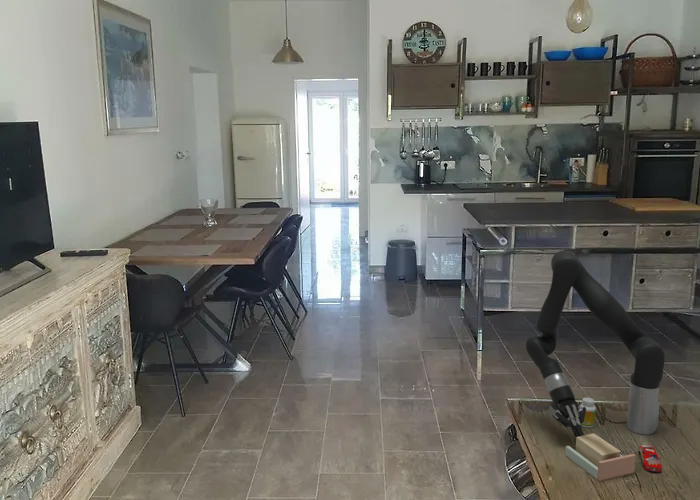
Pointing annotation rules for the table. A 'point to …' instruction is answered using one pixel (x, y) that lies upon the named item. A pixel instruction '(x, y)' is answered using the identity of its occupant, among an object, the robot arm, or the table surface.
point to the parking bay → (604, 465)
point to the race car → (650, 458)
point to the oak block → (595, 449)
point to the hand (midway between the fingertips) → (580, 437)
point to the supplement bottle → (588, 412)
